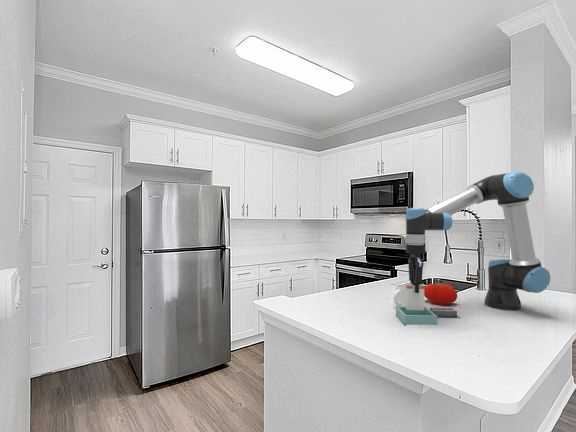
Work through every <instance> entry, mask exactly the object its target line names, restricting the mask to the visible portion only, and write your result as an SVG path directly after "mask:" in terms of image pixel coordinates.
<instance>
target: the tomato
mask: <svg viewBox="0 0 576 432" xmlns="http://www.w3.org/2000/svg"><path fill="white" fill-rule="evenodd" d="M424 298H426V299H427V301H428V302H430V303H432V304H434V305H442V306H447V305H450V304H452V303H453V304H454V303H455V302H456V301H457V299H458V293H457V292H456V289H455V288H454V286H452V285H450V284H447V283H442V282H438V283H428V284H427V285H426V286H424Z"/></svg>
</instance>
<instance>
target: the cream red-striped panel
mask: <svg viewBox="0 0 576 432" xmlns="http://www.w3.org/2000/svg"><path fill="white" fill-rule="evenodd" d="M405 285H406V309H407V310H424V307H425V296H424V288H425V284H424V283H422V284H421V285H420V301H417V300H413V285H412V283H411V282H410V283H406V284H405Z"/></svg>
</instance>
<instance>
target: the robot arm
mask: <svg viewBox="0 0 576 432" xmlns="http://www.w3.org/2000/svg"><path fill="white" fill-rule="evenodd" d="M534 186H535V185H534V181H533V179H532V178H531V176H530V175H528V174H526V173H525V172H522V171H511V172H505V173H500V174H496V175H495V174H493V175H490V176H487V177H485V178H483V179H481V180H478V181H476V182H474V183H473V184H471V185H469V186H467V188H466V189H465V190H463V191H461V192H458V193H457V194H454V195H453V196H451V197H449V198H446V199H445V200H443V201H442V200H441V202H438V203H436V204H435V205H433V206H430V207H428V208H426V209H425V208H424V207H409V208H407V209H406V213H405V233H406V235H405V236H404V239H405V243H406V245H405V253H406V254H410V255H409V258H407V262H408V281H409V282H410V283H412V285H413V300H417V301H420V285H421V284H423V268H424V262H423V261H422V257H421V256H422V255H424V254H425V253H426V231H449V230H450V229H451V228H452V226H453V217H452V215H454V214H456V213H458V212H460V211H462V210H464V209H466V208H468V207H470V206H473V205H475V204H476V205H479V204H482V203H484V202H487V201H494V200H496V201H497V205H498V206H500V207H501V208H502V212H503V216H504V221H505V227H506V233H507V238H508V243H509V249H510V254H511V259H491V260H489V261H488V267H487V270H488V271H487V273H488V279H487V280H488V290H487V292H486V296H485V298H484V305H485V306H487V307H490V308H492V309H493V308H494V309H498V310H504V311H505V310H506V311H519V310H522V302H521V300H520V296H519V294H518V291H517V290H520V291H524V292H527V293H534V294H538V293H542V292H544V291H545V290H546V289H547V288H548V287H549V285H550V282H551V273H550V271H549V270H548V269H546V268H545V267H543V266H542V261H541V259H539V258H537V257H536V253H535V247H534V243H533V237H532V233H531V226H530V220H529V216H528V215H529V214H528V211H527V203H529V201H530V196H531V195H532V194H533V192H534V189H535V187H534Z"/></svg>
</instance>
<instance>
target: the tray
mask: <svg viewBox="0 0 576 432" xmlns="http://www.w3.org/2000/svg"><path fill="white" fill-rule="evenodd" d="M395 316H396V317H397V318H398V321H400V322H401V324H403V326H407V325H430V326H431V325H438V318H437V316H436V315H435V314H434V313H433V312H431V311H430V308H427V307H426V306H424V310H407V309H406V307H398V306H395Z"/></svg>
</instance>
